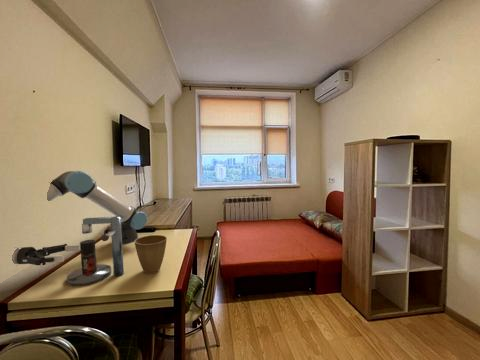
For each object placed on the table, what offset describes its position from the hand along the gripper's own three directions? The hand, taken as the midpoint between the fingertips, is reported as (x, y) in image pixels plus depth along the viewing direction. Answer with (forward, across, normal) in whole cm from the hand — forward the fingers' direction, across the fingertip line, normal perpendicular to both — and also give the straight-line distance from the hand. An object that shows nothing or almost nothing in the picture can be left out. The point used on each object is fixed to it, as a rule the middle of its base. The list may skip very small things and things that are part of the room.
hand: (71, 252), depth 112 cm
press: (+12, +3, -12) cm, 17 cm away
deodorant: (+7, 0, -10) cm, 13 cm away
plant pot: (+36, -2, -12) cm, 38 cm away
